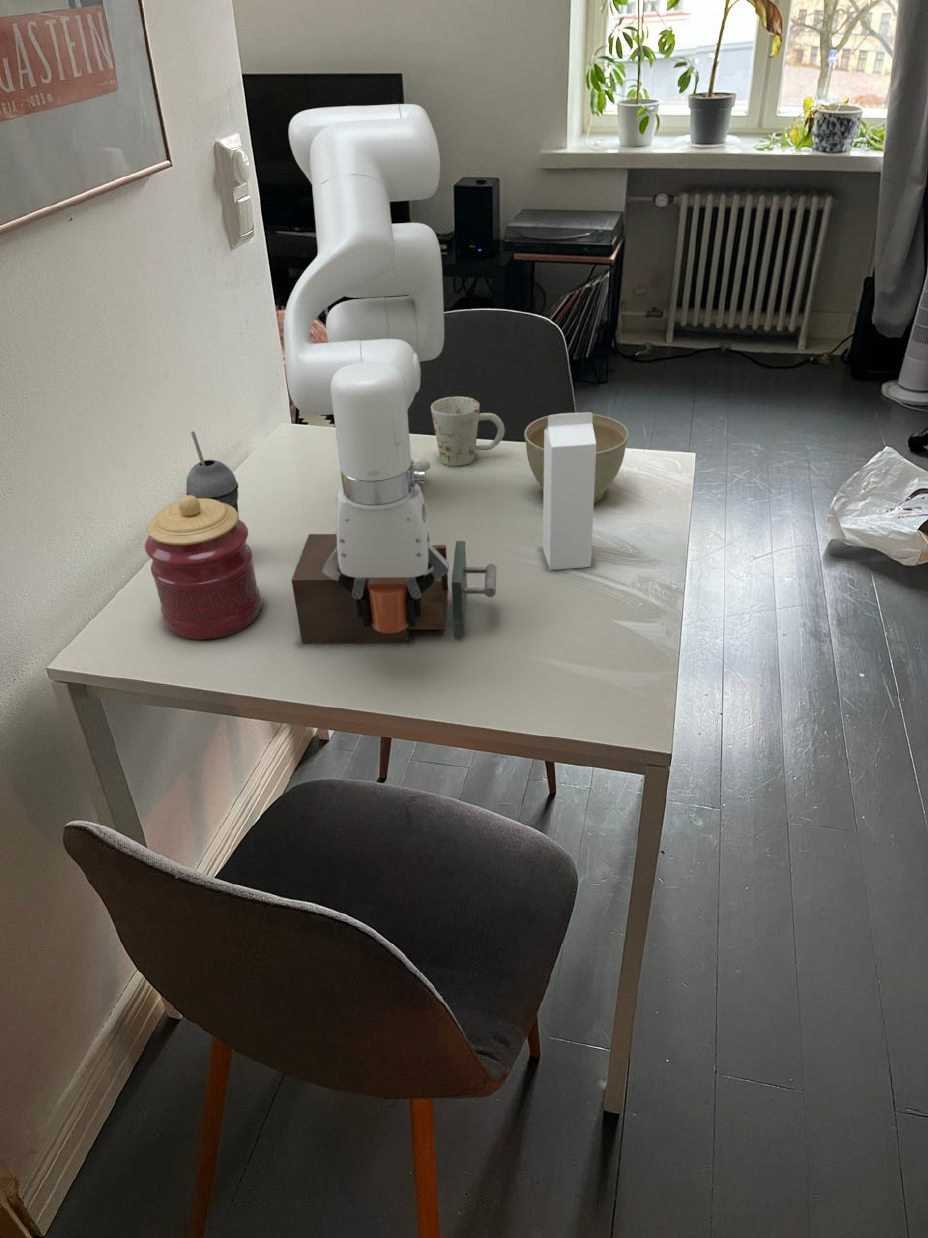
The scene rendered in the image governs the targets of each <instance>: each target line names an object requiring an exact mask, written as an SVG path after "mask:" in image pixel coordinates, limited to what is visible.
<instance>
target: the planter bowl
mask: <svg viewBox="0 0 928 1238" xmlns="http://www.w3.org/2000/svg"><path fill="white" fill-rule="evenodd" d="M573 413H574V412H563V413H561V412H560V413H555V414H553V415H560V414H573ZM592 415H593V418H592V424H593V429H594V434H595V440H596V461H595V483H594V504H595V503H597V502H599V501H600V500H601V499H602V498H603V497H604V493H605V491H606V489H607V488H609V486H610V485H611V484H612V483H613V481H614V480H615V478H616V477H617V475H618V473H619V471H620V469H621V467H622V464H623V462H624V459H625V454H626V453H625V452H626V446H627V444H628V440H629V431H628V429H627V428H626V426H625V425H624V424H623V423H621V422H619V420H616V419H614V418H612V417H609V416H606V415H605V416H604V415H601V414H596V413H592ZM549 416H550V415H546V416H543V417H540V418H538V419H536V420H534V421H532V422H530V423H529V424H528V425H527V426H526V428H525V430H524V434H523V435H524V441H525V447H526V457H527V461H528V465H529V467H530V470H531V472H532V474H533V476H534V478H535V480H536V482H538V484H539V485H540V487H541V488H542V489H543V490H544V430H545V429H546V428H547V427H548V417H549Z"/></svg>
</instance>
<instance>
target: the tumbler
mask: <svg viewBox="0 0 928 1238" xmlns="http://www.w3.org/2000/svg"><path fill="white" fill-rule="evenodd" d="M367 587H368V596H369V605H370V613H371V622H372V626H373V628H374V629H375V630H377V631H379V632H382V633H396V632H400V631H402V630H404V629H406V628H407V627H408V626H409V623H408V611H407V595H408V587H407V584H406V582H405V579H404V577H395V578H371V579H370V580H369V581H368V584H367Z"/></svg>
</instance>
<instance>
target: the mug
mask: <svg viewBox="0 0 928 1238" xmlns="http://www.w3.org/2000/svg"><path fill="white" fill-rule="evenodd" d="M430 405H431V406H430V412H431V417H432V418H431V419H432V423H433V427H434V432H435V438H436V443H437V449H438V454H439V460H440V461H441V463H442V464H443V465H446V466H450V467H460V466H466V465H469V464H471V463H473V462H474V461H475V457H476V451H489V450H492V449H494V448H496V447H497V446H498V445H499V444H500V443H501V442H502V440H503V438H504V437H505V431H506V429H505V425H504V422H503V421H502V419H501V418H500V417H499V416H498V415H497V414H495V413H492V412H480V410H481V409H480V406H481V405H480V402H479V401H478V400H476V399H474V398H473V397H469V396H467V397H466V396H448V397H447V396H446V397H443V398H439V399H437V400H435V401H434V402H433V403H431V404H430ZM480 421H491V422H492V423H493V424H494V426H496V430H497V432H496V436H495V438H494V439H493V440H492V442H490V443H489V444H481V445H479V444H478V445H477V437H478V429H479V427H478V426H479V422H480Z"/></svg>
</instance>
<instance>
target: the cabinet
mask: <svg viewBox="0 0 928 1238" xmlns="http://www.w3.org/2000/svg"><path fill="white" fill-rule="evenodd" d="M336 547H337V533H310V534H308V536H307V538H306V541H305V543H304V546H303V548H302V551H301V555H300V556H299V559H298V562H297V564H296V566H295V570H294V572H293V575H292V578H291V585H292V591H293V598H294V603H295V609H296V615H297V622H298V627H299V632H300V634H299V635H300V640H301V644H408V640H409V636H410V629H407V628H406V629H404V630H402V631H400V632H396V633H382V632H379V631H377V630H375V629H374V628H373V626H372V622H371V626H369V627H364V622H363V617H358V610H357V602H356V599H355V598H353V596H352V593H351V592H350V591H348V590H347V589H346V588H344V587H343V586H342V585H340V584H339V582H338V581H337V580H334V579H332V578H330V577H329V576H327V575H325V574H324V573H323V572H322V570H323V566H324V564H325V562H326V561H327V559H328V558H329V557H330V555H331V554H332V552H333V551H334V550H335V548H336ZM370 579H371V578H366V584H368V581H369V580H370Z"/></svg>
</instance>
